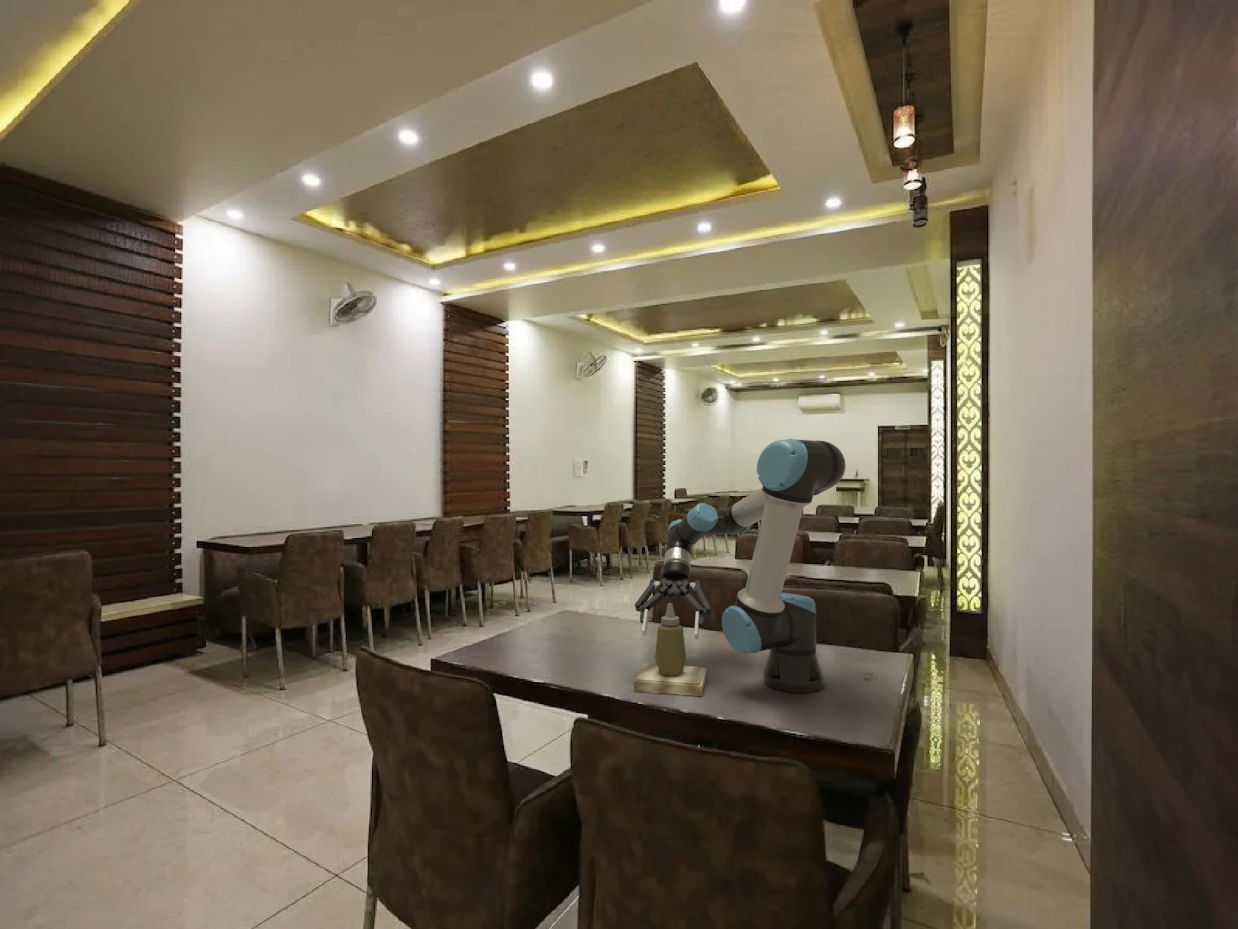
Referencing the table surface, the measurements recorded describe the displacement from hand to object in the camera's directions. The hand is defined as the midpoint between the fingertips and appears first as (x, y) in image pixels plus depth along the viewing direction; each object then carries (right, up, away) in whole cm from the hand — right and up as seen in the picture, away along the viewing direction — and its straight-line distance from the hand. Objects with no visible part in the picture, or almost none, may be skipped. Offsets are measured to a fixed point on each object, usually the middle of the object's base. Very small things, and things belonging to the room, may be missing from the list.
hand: (669, 635), depth 151 cm
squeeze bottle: (0, -10, +1) cm, 11 cm away
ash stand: (+1, -13, +1) cm, 13 cm away
